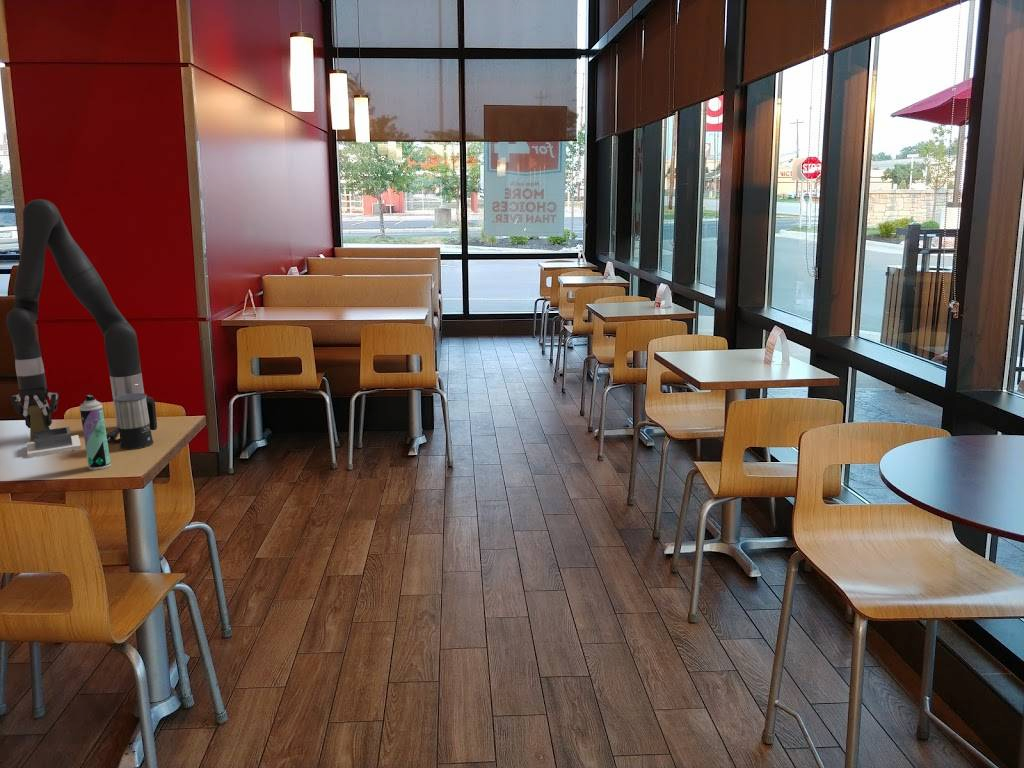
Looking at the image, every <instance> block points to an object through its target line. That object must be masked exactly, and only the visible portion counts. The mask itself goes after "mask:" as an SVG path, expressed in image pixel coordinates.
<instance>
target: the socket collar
mask: <svg viewBox="0 0 1024 768" xmlns="http://www.w3.org/2000/svg"><path fill="white" fill-rule="evenodd" d="M33 434H34V441H33V442H34V443H35V449H36V451H37V450H43V449H50V448H56V447H63V446H69V445H72V439H71V436H72V434H71V430H70V426H65V427H58V428H57V427H56V428H50V429H49V430H43V431H36V432H33Z"/></svg>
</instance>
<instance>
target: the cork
mask: <svg viewBox="0 0 1024 768" xmlns="http://www.w3.org/2000/svg"><path fill="white" fill-rule="evenodd" d="M43 405H44V404H43ZM27 412H28V414H29V415H30V428H29V429H30V430H29V431H30V433H29V434H30V435H29V436H30V442H34V434H33V432H36V431H43V430H49V429H51V428H50V426H49V427H45V422H44V414H43V410H42V409H40V408H39V406H38V405H31V406H29V407H28V409H27Z"/></svg>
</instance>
